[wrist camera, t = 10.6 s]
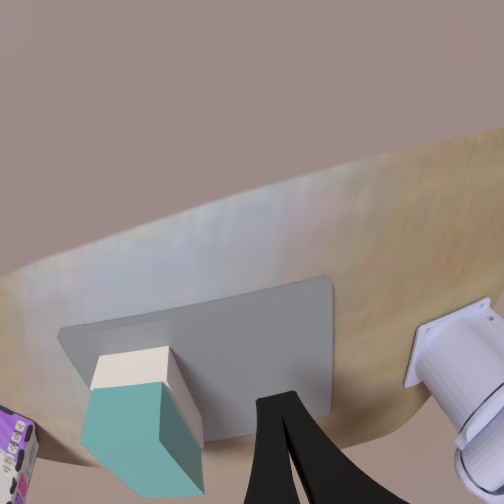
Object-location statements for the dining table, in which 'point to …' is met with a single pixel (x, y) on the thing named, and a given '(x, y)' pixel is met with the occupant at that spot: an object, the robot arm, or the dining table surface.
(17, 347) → the dining table surface
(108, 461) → the teal brick
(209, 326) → the baseplate
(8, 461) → the candy box
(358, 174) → the dining table surface
